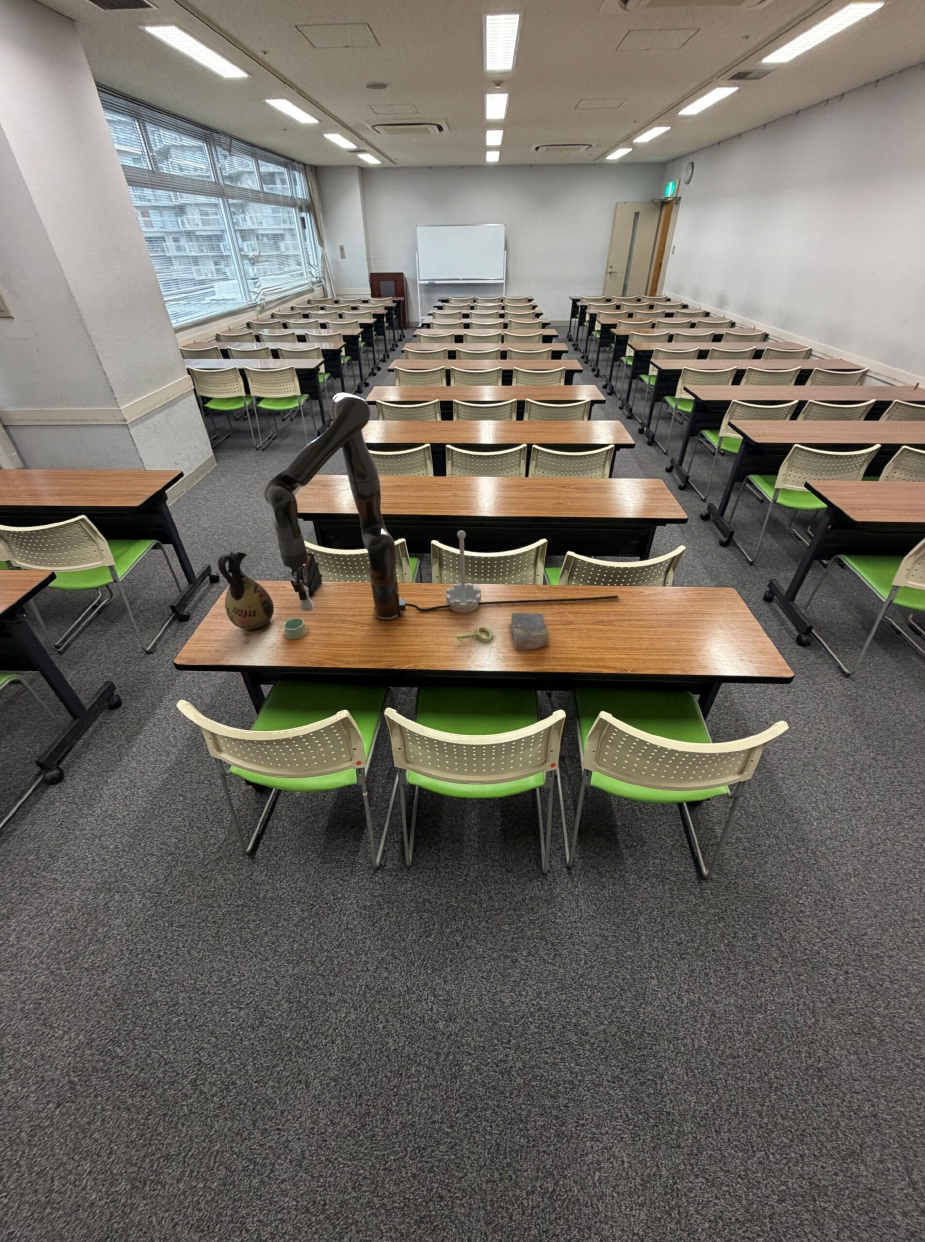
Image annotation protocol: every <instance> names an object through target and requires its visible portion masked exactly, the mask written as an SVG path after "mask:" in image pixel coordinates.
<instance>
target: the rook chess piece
mask: <svg viewBox="0 0 925 1242" xmlns="http://www.w3.org/2000/svg"><path fill="white" fill-rule="evenodd" d="M305 591H306V595H307V600H302V601H301V600H300V603H299V606H300V610H301V611H303V612H309V611H312V610H313V609H314V608H315V604H314V601H313V600H312V599H311V598H310V596H309V595H308V592H307V591H308V588H307V586H305Z"/></svg>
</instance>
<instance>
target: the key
mask: <svg viewBox="0 0 925 1242" xmlns="http://www.w3.org/2000/svg"><path fill="white" fill-rule="evenodd" d="M481 631H484V632H485V633H487V634H488V636H489V637H484V636H483V635H481V633H480V632H481ZM473 638H475V639H477V638H478V639H479V640H480V641H482V642H485V643H487V642H491V641H492V639H493V634H492V631H491V630H490V629H488V628H487V627H484V626H480V627H478V628H477V630H476V632H474V633H470V634H469V633H468V634H462V635H461V634H460V635H456V639H457V640H458V641H459V642H464V639H465V640H466V639H473Z"/></svg>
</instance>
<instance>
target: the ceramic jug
mask: <svg viewBox="0 0 925 1242" xmlns="http://www.w3.org/2000/svg"><path fill="white" fill-rule="evenodd" d="M246 557H247V554H246V553H245V552H242V551H237V552H236V553H235V552H232V551H230V552H229V554H227V553H226V554H223V555H221V556H219V557H218V559H217V567H218V570H219V572H220V574H221V575H222V577H223V578H224V579H225V580H226V582H227V583H228V584H229V585H228V587H227V591H226V594H225V599H224V608H225V612H226V613H225V614H226V616H227V617H228V619H229V621H230V622H231V624H233V625H234V626H235V627H237V628H239V629H242V630H243V631H244V632H245V633H247V634H248V635H251V634H257V633H258V634H259V633H261V632H263V631H266V630H267V629H268V628H269V627H270V626H271V625H272V622H271V621H272V617H273V615H274V612H275V610H274V608H275V605H274V601H273V599H272V597H271V595H270V593H269V592H268V591H267V590H266V589H265V588H264V587H263V586H262V585H261V584H260V583H258V582H257V581H256V580H254V579H253V578H251V577H249V576H248V575H246V574H245V573H244V571H242V569H241V564H242V562H243V560H244V559H245V558H246ZM227 562H228V564H227ZM226 565H227V567H226Z"/></svg>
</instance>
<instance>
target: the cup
mask: <svg viewBox="0 0 925 1242" xmlns="http://www.w3.org/2000/svg"><path fill="white" fill-rule="evenodd" d="M283 629H284V633H285V637H286V638H287V639H289V640H299V639H302V638H303V637H304V636H305V635H306V634H307V628H306V624H305V621H304V619H303V618H301V617H293V618H289V619H287V620H286V621H284V623H283Z"/></svg>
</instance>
